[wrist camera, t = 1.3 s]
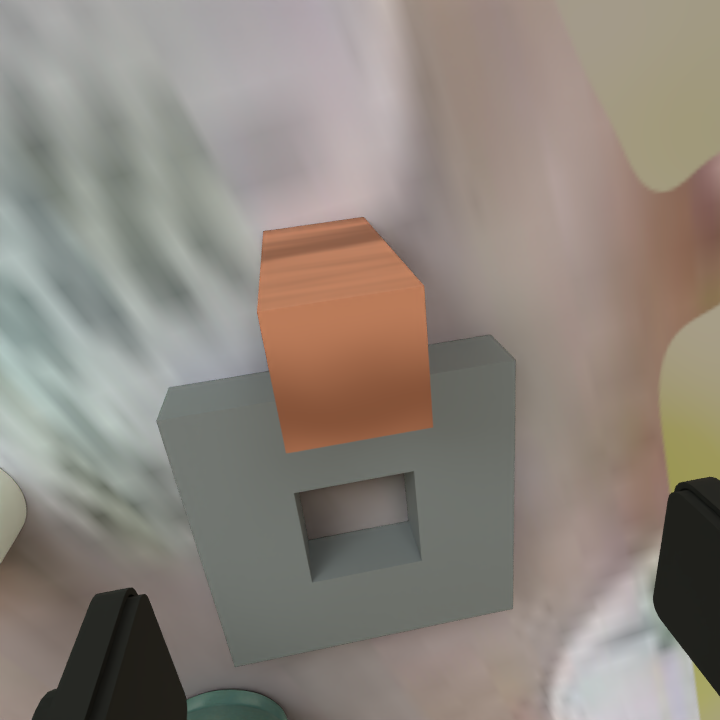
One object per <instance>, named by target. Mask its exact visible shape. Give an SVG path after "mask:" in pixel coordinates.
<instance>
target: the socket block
mask: <svg viewBox="0 0 720 720" xmlns="http://www.w3.org/2000/svg"><path fill="white" fill-rule="evenodd" d="M428 355H429V370H430V386H431V401H432V417H433V428H427V429H421V430H416V431H410V432H405V433H399V434H393V435H388V436H382V437H376V438H371V439H365V440H360V441H354V442H348V443H343V444H337V445H331V446H326V447H320V448H315V449H309V450H303V451H298V452H292V453H286V450H285V446H284V441H283V436H282V431H281V426H280V421H279V416H278V411H277V407H276V402H275V397H274V392H273V387H272V382H271V377H270V373H269V371H268V372H262V373H255V374H249V375H243V376H237V377H231V378H225V379H219V380H213V381H207V382H201V383H195V384H189V385H183V386H176V387H170V388H169V389H168V392H167V394H166V397H165V400H164V402H163V405H162V407H161V410H160V413H159V415H158V418H157V424H158V427H159V431H160V434H161V437H162V440H163V443H164V446H165V449H166V452H167V456H168V459H169V462H170V465H171V468H172V471H173V474H174V478H175V481H176V484H177V487H178V490H179V493H180V496H181V499H182V503H183V506H184V509H185V512H186V515H187V518H188V521H189V525H190V528H191V531H192V534H193V537H194V540H195V543H196V546H197V550H198V553H199V556H200V559H201V562H202V565H203V568H204V572H205V575H206V578H207V581H208V584H209V587H210V590H211V594H212V597H213V600H214V603H215V606H216V609H217V612H218V615H219V619H220V622H221V625H222V628H223V631H224V634H225V637H226V641H227V644H228V647H229V650H230V653H231V656H232V659H233V662H234V666H235V667H238V666H243V665H247V664H252V663H257V662H262V661H266V660H271V659H276V658H281V657H285V656H290V655H295V654H300V653H305V652H309V651H314V650H319V649H324V648H328V647H333V646H338V645H343V644H347V643H352V642H357V641H362V640H366V639H371V638H376V637H381V636H386V635H390V634H395V633H400V632H405V631H409V630H414V629H419V628H424V627H428V626H433V625H438V624H443V623H447V622H452V621H457V620H462V619H467V618H471V617H476V616H481V615H486V614H490V613H495V612H500V611H505V610H509V609H513V545H514V461H515V376H516V360H515V359H514V358H513V357H512V356H511V355H510V354H509V353H508V352H507V351H506V350H505V349H504V348H503V347H502V346H501V345H500V344H499V343H498V342H497V341H496V340H495V339H494V338H493V337H492V336H491V335H486V336H480V337H474V338H468V339H462V340H456V341H450V342H444V343H438V344H432V345H428ZM401 473H404V479H405V489H406V500H407V510H408V521H407V522H401V523H396V524H391V525H386V526H381V527H375V528H370V529H365V530H360V531H355V532H349V533H344V534H339V535H334V536H329V537H323V538H318V539H313V540H308V535H307V530H306V525H305V520H304V515H303V510H302V505H301V500H300V495H299V492H304V491H309V490H314V489H320V488H325V487H331V486H336V485H341V484H347V483H352V482H358V481H363V480H369V479H374V478H379V477H385V476H390V475H396V474H401Z"/></svg>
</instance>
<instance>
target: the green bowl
mask: <svg viewBox="0 0 720 720" xmlns="http://www.w3.org/2000/svg"><path fill="white" fill-rule="evenodd" d="M186 701H187V720H287V717H286V715H285V713H284V711H283V710H282V708H281V707H280V706H279V705H278V704H276V703H275V702H274V701H273V700H271V699H269V698H267V697H265V696H263V695H260V694H258V693H254V692H249V691H244V690H217V691H212V692H207V693H204V694H200V695H197V696H195V697H192V698H190V699H188V700H186Z"/></svg>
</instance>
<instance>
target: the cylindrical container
mask: <svg viewBox="0 0 720 720" xmlns="http://www.w3.org/2000/svg"><path fill="white" fill-rule="evenodd" d="M26 514H27V512H26V502H25V499H24V496H23V494H22V492H21V490H20V488H19V487H18V485H17V484H16V483H15V482H14V480H13V479H12V478H11V477H10V476H9V475H8V474H6V473H5V472H4V471H3V470H1V469H0V564H1V562H2V561H3V559H4V557H5V556H6V554H7V552H8V551H9V549H10V547H11V546H12V544H13V542H14V541H15V539H16V537H17V536H18V534H19V532H20V530H21V529H22V527H23V525H24V523H25V518H26Z"/></svg>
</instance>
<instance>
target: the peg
mask: <svg viewBox="0 0 720 720" xmlns="http://www.w3.org/2000/svg"><path fill="white" fill-rule="evenodd" d="M257 314H258V319H259V324H260V329H261V334H262V339H263V343H264V348H265V353H266V358H267V363H268V368H269V373H270V377H271V382H272V387H273V392H274V397H275V402H276V407H277V411H278V416H279V421H280V426H281V431H282V436H283V441H284V446H285V450H286V453H292V452H298V451H303V450H309V449H315V448H320V447H326V446H331V445H337V444H343V443H348V442H354V441H360V440H365V439H371V438H376V437H382V436H388V435H393V434H399V433H405V432H410V431H416V430H421V429H427V428H433V417H432V401H431V386H430V370H429V355H428V339H427V323H426V308H425V292H424V285H423V284H422V283H421V282H420V281H419V280H418V279H417V277H416V276H415V275H414V274H413V273H412V272H411V271H410V269H409V268H408V267H407V266H406V265H405V264H404V263H403V261H402V260H401V259H400V258H399V257H398V256H397V255H396V253H395V252H394V251H393V250H392V249H391V248H390V247H389V246H388V244H387V243H386V242H385V241H384V240H383V239H382V238H381V236H380V235H379V234H378V233H377V232H376V231H375V230H374V228H373V227H372V226H371V225H370V224H369V223H368V222H367V220H366V219H365V218H364V217H360V218H353V219H346V220H339V221H332V222H325V223H318V224H311V225H304V226H297V227H290V228H283V229H276V230H269V231H263V242H262V255H261V268H260V281H259V293H258V306H257Z"/></svg>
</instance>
